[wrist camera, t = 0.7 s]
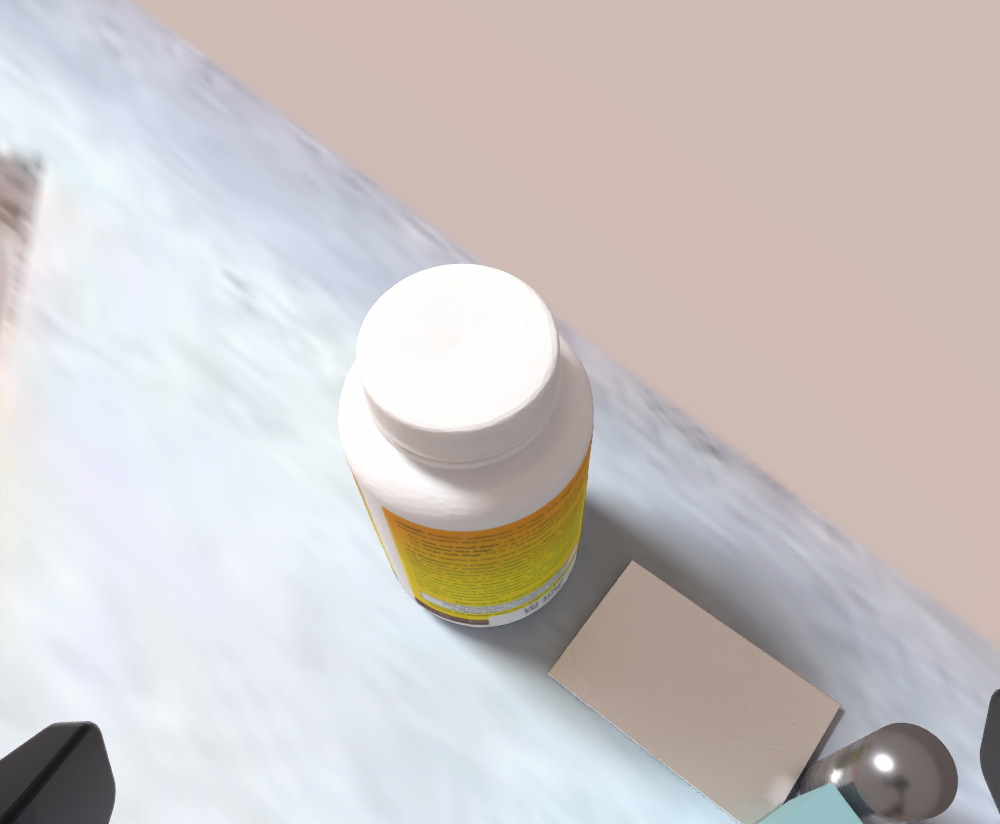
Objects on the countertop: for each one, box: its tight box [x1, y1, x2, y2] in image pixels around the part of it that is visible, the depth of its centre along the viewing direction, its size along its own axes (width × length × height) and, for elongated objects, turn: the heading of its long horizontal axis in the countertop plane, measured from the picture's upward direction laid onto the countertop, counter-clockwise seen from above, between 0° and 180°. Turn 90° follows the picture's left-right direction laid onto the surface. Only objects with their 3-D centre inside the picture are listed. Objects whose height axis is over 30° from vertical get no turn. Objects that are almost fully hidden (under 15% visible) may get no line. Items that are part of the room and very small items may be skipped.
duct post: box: [548, 560, 958, 824], centre depth 21 cm, size 8×4×5 cm, turn 52°
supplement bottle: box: [338, 264, 594, 627], centre depth 21 cm, size 6×6×10 cm
